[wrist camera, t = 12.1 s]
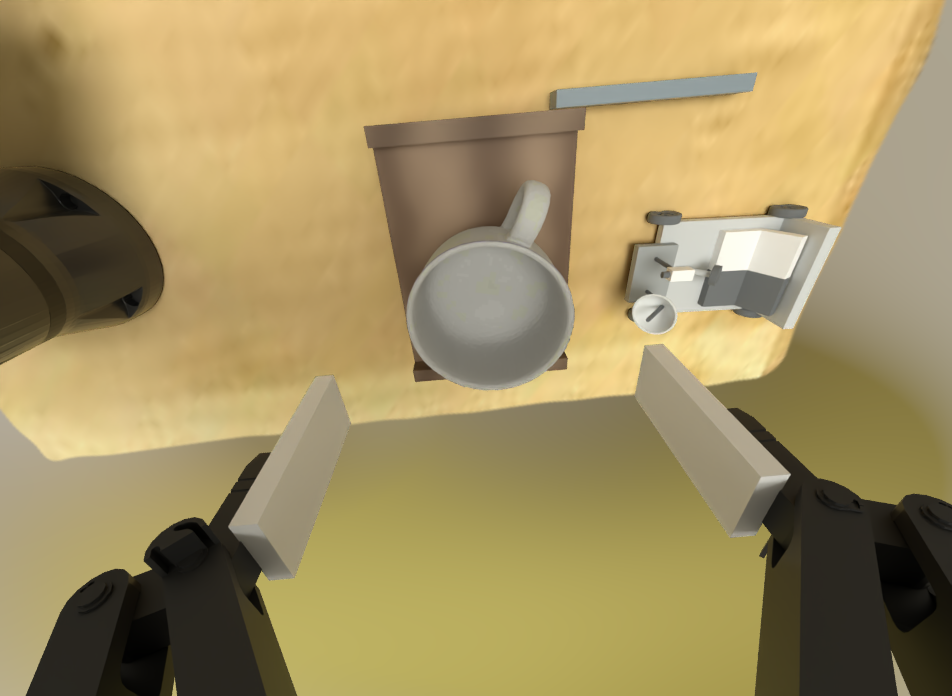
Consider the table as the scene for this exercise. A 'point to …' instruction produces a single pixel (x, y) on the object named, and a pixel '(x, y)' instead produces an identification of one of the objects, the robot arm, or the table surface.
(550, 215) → the walnut stand
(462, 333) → the teacup
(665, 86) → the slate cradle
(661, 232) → the toy rover
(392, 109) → the table surface
